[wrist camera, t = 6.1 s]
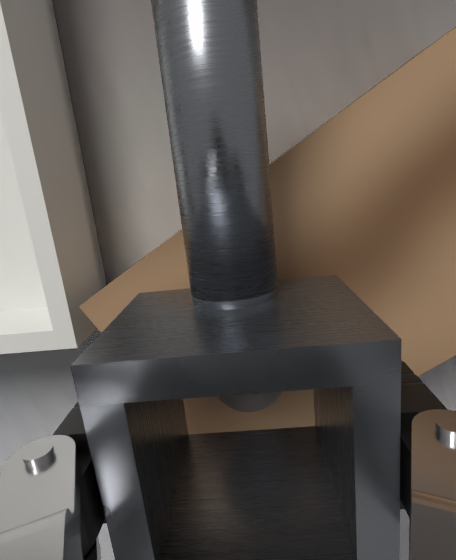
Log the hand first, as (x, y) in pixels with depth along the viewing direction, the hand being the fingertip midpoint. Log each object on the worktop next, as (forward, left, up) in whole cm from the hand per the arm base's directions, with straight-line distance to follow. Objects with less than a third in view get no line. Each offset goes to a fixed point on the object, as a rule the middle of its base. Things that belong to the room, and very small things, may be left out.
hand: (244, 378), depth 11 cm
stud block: (0, -4, -7) cm, 8 cm away
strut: (+4, -3, 0) cm, 5 cm away
